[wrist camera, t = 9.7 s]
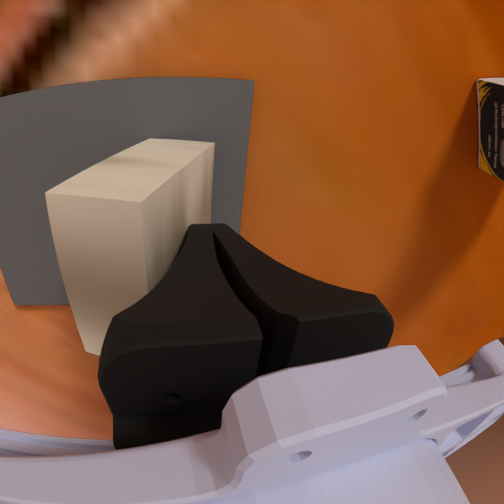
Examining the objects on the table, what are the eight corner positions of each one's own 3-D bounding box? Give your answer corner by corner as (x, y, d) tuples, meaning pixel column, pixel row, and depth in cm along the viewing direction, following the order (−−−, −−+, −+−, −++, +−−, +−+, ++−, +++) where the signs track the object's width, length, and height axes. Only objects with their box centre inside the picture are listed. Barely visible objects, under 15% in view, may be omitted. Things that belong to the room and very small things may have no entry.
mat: (231, 291, 19) (233, 297, 19) (17, 298, 16) (14, 304, 15) (251, 80, 13) (254, 80, 13) (-23, 103, 10) (-29, 105, 9)
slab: (208, 263, 16) (160, 373, 10) (153, 254, 16) (85, 351, 10) (215, 142, 13) (141, 202, 7) (149, 138, 13) (44, 192, 7)
